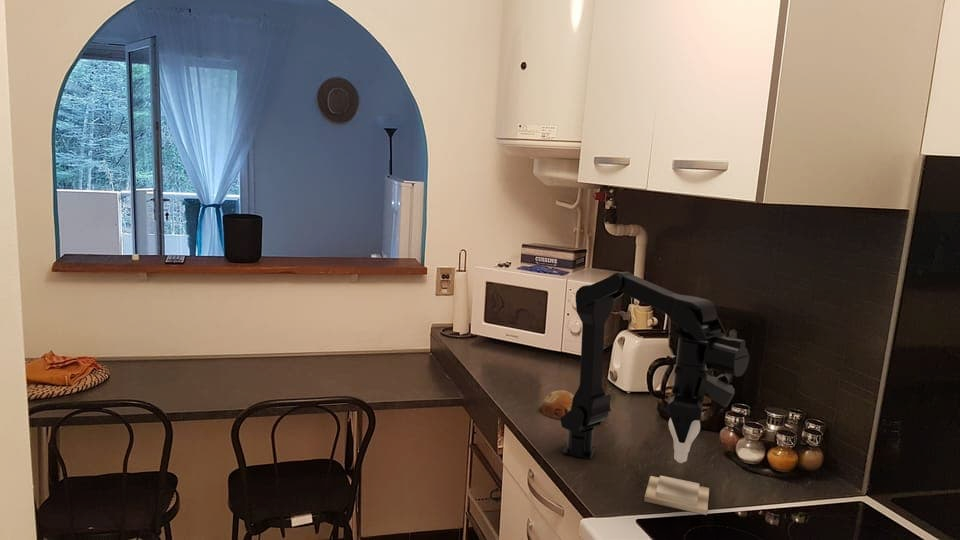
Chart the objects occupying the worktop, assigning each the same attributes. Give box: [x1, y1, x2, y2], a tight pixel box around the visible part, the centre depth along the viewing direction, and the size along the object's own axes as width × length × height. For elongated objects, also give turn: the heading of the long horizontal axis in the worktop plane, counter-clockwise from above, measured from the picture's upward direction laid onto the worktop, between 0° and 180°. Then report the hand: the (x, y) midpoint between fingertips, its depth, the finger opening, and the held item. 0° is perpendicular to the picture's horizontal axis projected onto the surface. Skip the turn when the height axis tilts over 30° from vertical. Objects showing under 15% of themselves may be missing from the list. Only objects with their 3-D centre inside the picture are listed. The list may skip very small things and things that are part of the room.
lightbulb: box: [668, 416, 701, 464], centre depth 136 cm, size 6×6×11 cm
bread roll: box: [541, 389, 575, 421], centre depth 180 cm, size 10×10×8 cm
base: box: [643, 475, 710, 516], centre depth 138 cm, size 10×12×2 cm
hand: (682, 437), depth 136 cm, fingers closed on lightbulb, 6 cm apart
